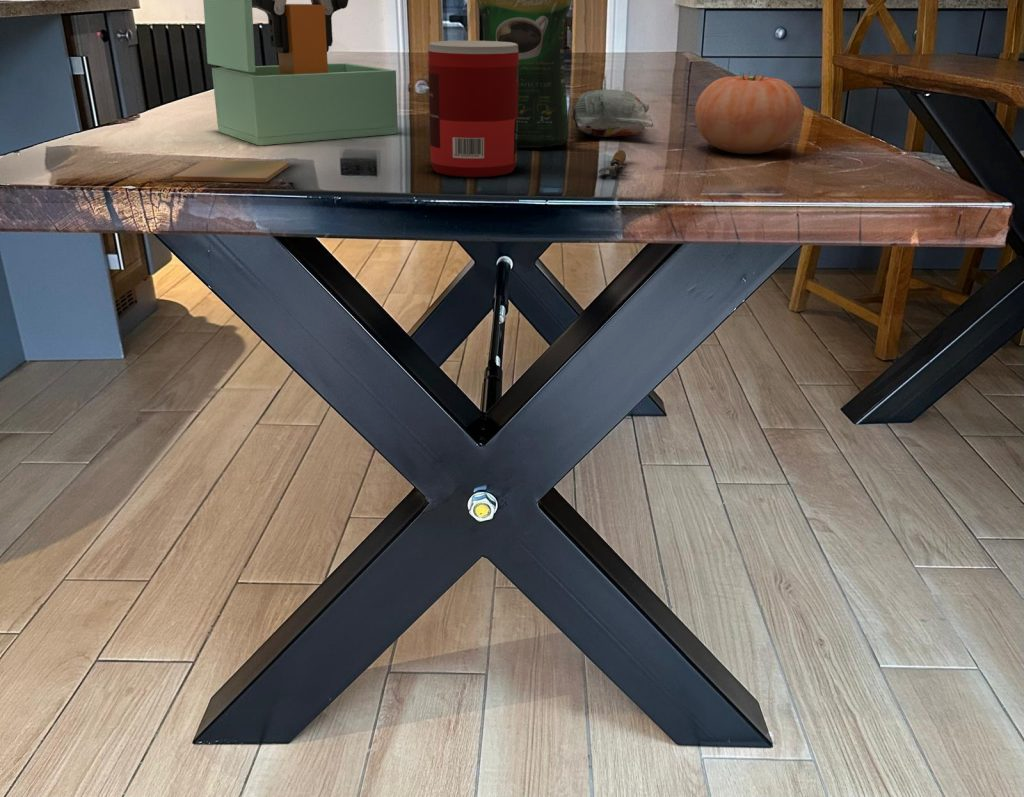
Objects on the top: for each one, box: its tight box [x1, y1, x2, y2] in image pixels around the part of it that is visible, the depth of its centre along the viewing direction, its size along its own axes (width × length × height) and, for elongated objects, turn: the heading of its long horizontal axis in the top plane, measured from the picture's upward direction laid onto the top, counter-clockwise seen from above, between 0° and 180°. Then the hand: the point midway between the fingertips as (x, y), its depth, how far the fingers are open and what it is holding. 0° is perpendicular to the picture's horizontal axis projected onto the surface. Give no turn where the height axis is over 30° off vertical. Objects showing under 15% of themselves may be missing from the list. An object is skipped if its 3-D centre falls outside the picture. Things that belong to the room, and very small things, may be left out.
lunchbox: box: [211, 62, 399, 146], centre depth 106 cm, size 17×12×7 cm
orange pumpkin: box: [694, 71, 804, 155], centre depth 98 cm, size 11×11×8 cm
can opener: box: [598, 149, 627, 177], centre depth 88 cm, size 9×2×1 cm, turn 162°
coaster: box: [172, 159, 290, 183], centre depth 85 cm, size 8×8×1 cm
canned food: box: [427, 40, 519, 178], centre depth 86 cm, size 8×8×11 cm
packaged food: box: [572, 88, 654, 138], centre depth 108 cm, size 9×12×5 cm
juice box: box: [277, 3, 329, 75], centre depth 104 cm, size 4×4×10 cm
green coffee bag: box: [476, 0, 572, 149], centre depth 99 cm, size 10×8×19 cm
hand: (302, 51), depth 104 cm, fingers closed on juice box, 4 cm apart
